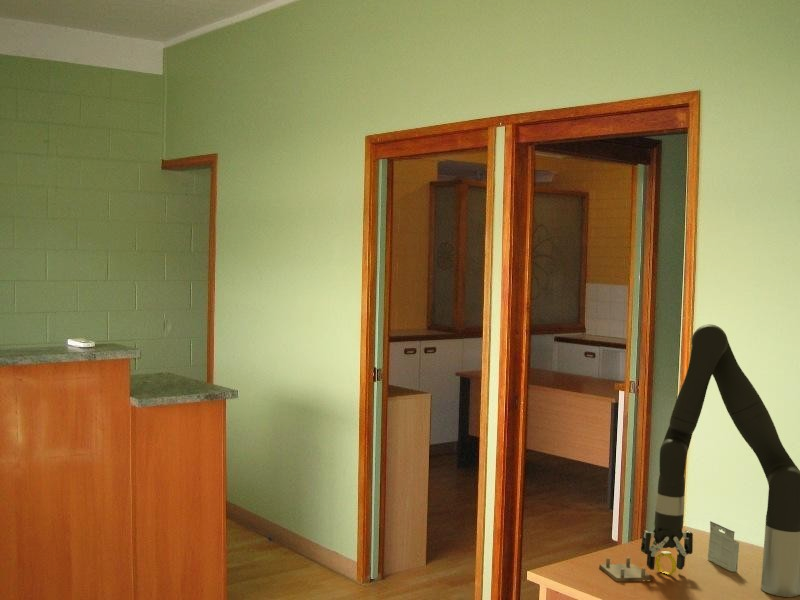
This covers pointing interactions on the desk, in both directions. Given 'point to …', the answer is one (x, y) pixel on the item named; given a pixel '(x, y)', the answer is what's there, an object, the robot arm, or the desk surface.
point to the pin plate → (624, 571)
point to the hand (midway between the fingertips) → (665, 568)
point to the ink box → (723, 547)
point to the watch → (666, 553)
